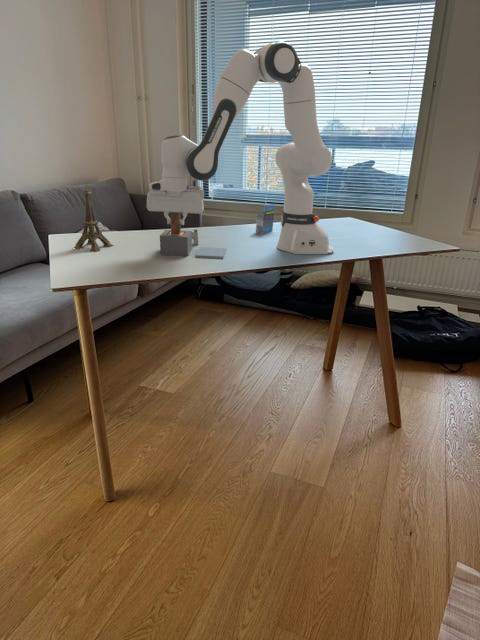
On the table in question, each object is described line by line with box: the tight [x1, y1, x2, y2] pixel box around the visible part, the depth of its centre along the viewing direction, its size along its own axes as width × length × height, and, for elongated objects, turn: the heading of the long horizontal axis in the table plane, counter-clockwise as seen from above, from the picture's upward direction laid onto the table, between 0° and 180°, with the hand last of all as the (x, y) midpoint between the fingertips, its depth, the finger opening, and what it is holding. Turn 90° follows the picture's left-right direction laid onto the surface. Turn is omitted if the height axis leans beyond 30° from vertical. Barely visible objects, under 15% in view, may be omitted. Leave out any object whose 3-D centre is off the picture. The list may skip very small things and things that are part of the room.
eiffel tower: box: [73, 180, 114, 253], centre depth 156 cm, size 11×11×25 cm
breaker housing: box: [159, 229, 193, 257], centre depth 158 cm, size 10×10×7 cm
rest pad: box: [195, 246, 227, 259], centre depth 158 cm, size 10×12×1 cm
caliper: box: [192, 229, 199, 246], centre depth 176 cm, size 20×1×6 cm, turn 22°
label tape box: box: [255, 204, 275, 234], centre depth 194 cm, size 9×4×12 cm, turn 144°
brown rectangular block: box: [170, 212, 182, 235], centre depth 154 cm, size 3×3×8 cm
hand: (175, 224), depth 155 cm, fingers closed on brown rectangular block, 3 cm apart
